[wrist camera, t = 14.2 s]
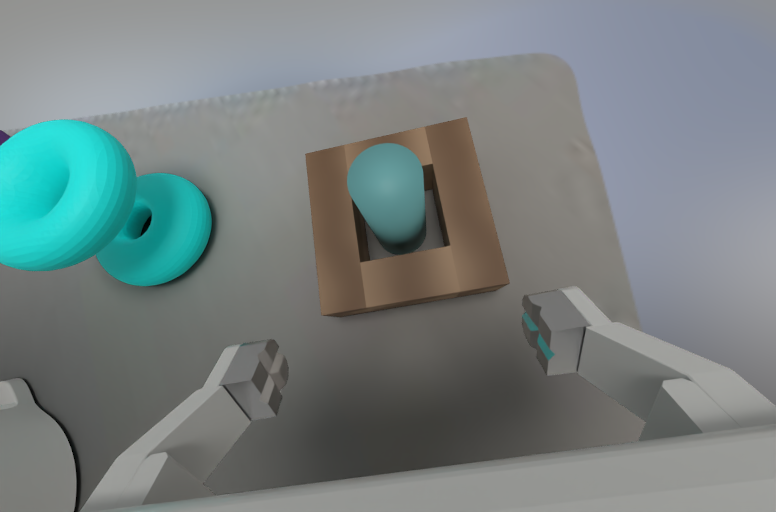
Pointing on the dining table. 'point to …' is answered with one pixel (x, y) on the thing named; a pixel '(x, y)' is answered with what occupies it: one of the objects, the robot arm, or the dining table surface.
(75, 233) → the donuts
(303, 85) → the dining table surface
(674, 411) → the robot arm
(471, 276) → the brown square frame block
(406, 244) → the teal rounded cylinder
